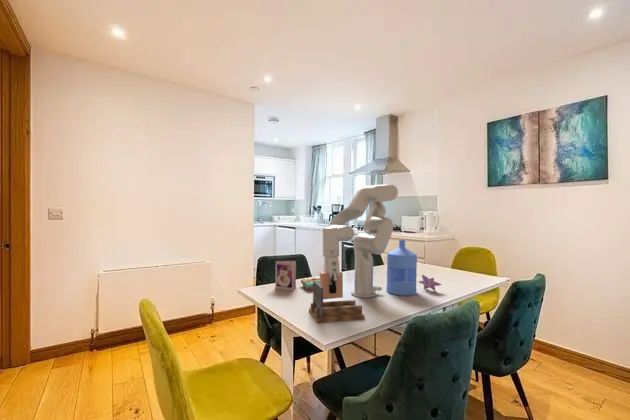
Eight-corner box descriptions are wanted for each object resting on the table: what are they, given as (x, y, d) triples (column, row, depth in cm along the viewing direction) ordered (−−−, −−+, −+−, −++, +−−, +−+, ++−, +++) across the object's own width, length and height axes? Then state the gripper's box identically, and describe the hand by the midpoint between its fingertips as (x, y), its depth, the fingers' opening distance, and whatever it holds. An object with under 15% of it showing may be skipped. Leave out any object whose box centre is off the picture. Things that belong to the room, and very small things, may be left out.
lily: (443, 295, 166) (443, 279, 170) (429, 289, 162) (430, 273, 166) (426, 297, 175) (427, 281, 179) (413, 291, 171) (414, 275, 175)
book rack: (351, 308, 141) (352, 278, 141) (364, 319, 127) (365, 286, 127) (308, 311, 136) (309, 280, 136) (317, 323, 122) (317, 288, 122)
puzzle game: (300, 278, 178) (333, 276, 185) (300, 286, 178) (333, 284, 185) (307, 283, 167) (341, 280, 174) (307, 292, 167) (341, 289, 174)
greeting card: (274, 288, 171) (274, 261, 171) (280, 285, 178) (281, 259, 178) (293, 291, 167) (293, 263, 167) (299, 287, 174) (299, 261, 174)
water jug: (382, 288, 176) (383, 238, 175) (409, 288, 177) (410, 238, 176) (391, 296, 160) (392, 242, 160) (421, 296, 161) (422, 242, 161)
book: (339, 295, 150) (339, 270, 150) (342, 297, 147) (342, 272, 146) (320, 296, 148) (319, 271, 147) (322, 299, 144) (322, 273, 144)
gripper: (344, 255, 139) (345, 296, 140) (332, 249, 155) (333, 286, 156) (328, 256, 137) (329, 297, 138) (318, 250, 154) (318, 287, 154)
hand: (331, 291), depth 147 cm, fingers closed on book, 4 cm apart
